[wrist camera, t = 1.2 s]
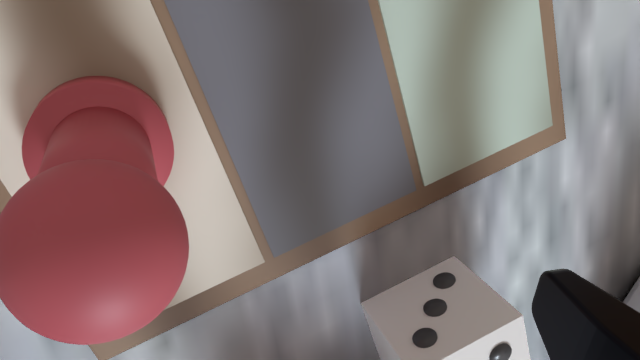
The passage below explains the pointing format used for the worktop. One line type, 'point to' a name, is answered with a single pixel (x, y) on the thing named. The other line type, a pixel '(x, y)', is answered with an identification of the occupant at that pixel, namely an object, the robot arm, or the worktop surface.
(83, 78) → the pawn
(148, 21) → the game board
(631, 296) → the soap bottle
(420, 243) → the worktop surface
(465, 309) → the die
